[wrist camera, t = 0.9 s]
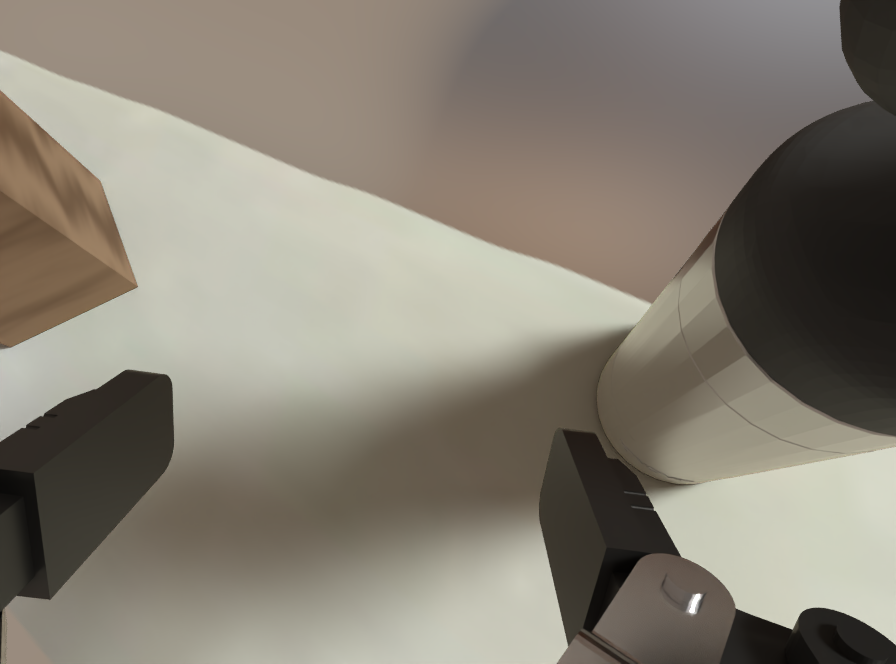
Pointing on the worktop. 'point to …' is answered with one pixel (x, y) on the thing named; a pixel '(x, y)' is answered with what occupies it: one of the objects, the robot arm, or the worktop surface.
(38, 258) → the stand
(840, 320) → the robot arm
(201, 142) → the worktop surface
